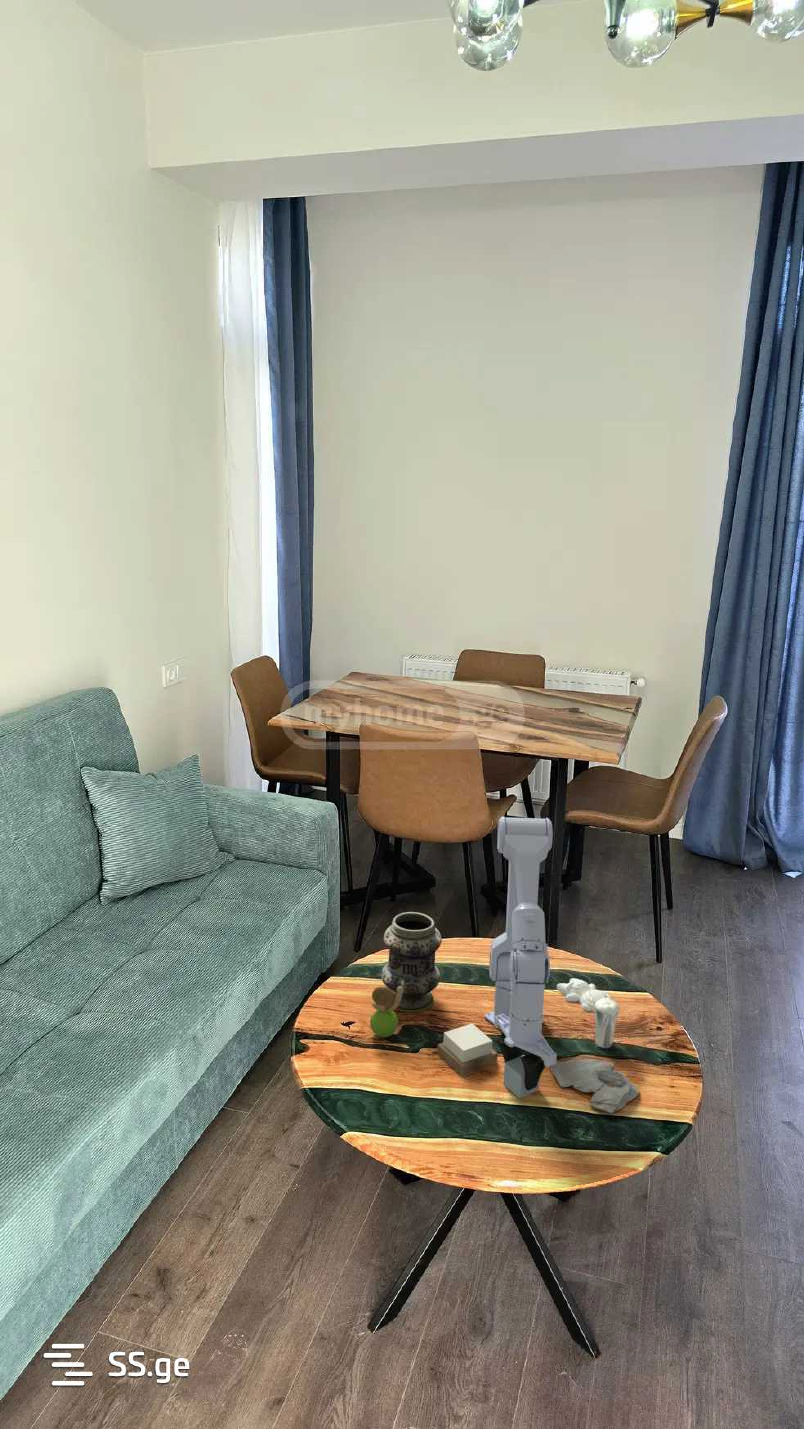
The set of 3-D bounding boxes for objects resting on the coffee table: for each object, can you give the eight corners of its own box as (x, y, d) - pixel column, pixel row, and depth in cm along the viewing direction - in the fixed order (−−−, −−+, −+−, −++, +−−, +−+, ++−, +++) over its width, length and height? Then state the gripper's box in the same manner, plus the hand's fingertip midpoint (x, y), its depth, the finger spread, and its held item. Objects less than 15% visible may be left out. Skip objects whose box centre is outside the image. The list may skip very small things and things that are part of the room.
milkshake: (584, 1037, 186) (588, 991, 183) (611, 1036, 186) (615, 991, 184) (591, 1051, 182) (595, 1004, 179) (618, 1050, 182) (622, 1004, 179)
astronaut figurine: (580, 980, 207) (581, 968, 207) (620, 1007, 197) (621, 994, 197) (549, 991, 203) (550, 978, 202) (588, 1018, 193) (590, 1005, 192)
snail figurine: (399, 1045, 182) (401, 989, 179) (366, 1041, 183) (368, 985, 180) (405, 1029, 187) (406, 974, 184) (373, 1025, 188) (374, 970, 185)
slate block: (522, 1076, 173) (524, 1054, 172) (539, 1089, 170) (540, 1067, 169) (503, 1084, 171) (504, 1062, 170) (519, 1098, 167) (521, 1076, 166)
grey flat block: (470, 1043, 184) (471, 1032, 183) (496, 1065, 178) (497, 1053, 177) (436, 1056, 180) (437, 1044, 179) (462, 1078, 173) (463, 1066, 173)
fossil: (649, 1092, 169) (649, 1080, 169) (609, 1123, 163) (609, 1110, 162) (577, 1053, 182) (576, 1042, 181) (537, 1080, 175) (536, 1069, 175)
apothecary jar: (451, 999, 198) (454, 920, 193) (413, 1023, 189) (415, 941, 184) (407, 978, 205) (409, 902, 201) (368, 1000, 197) (370, 921, 192)
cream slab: (471, 1035, 182) (472, 1023, 182) (491, 1052, 177) (492, 1041, 176) (443, 1044, 179) (443, 1032, 178) (462, 1063, 174) (463, 1050, 173)
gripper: (482, 999, 170) (478, 1066, 174) (536, 1040, 159) (531, 1110, 162) (512, 989, 174) (508, 1054, 178) (567, 1027, 162) (562, 1096, 166)
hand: (521, 1080), depth 170 cm, fingers closed on slate block, 4 cm apart
